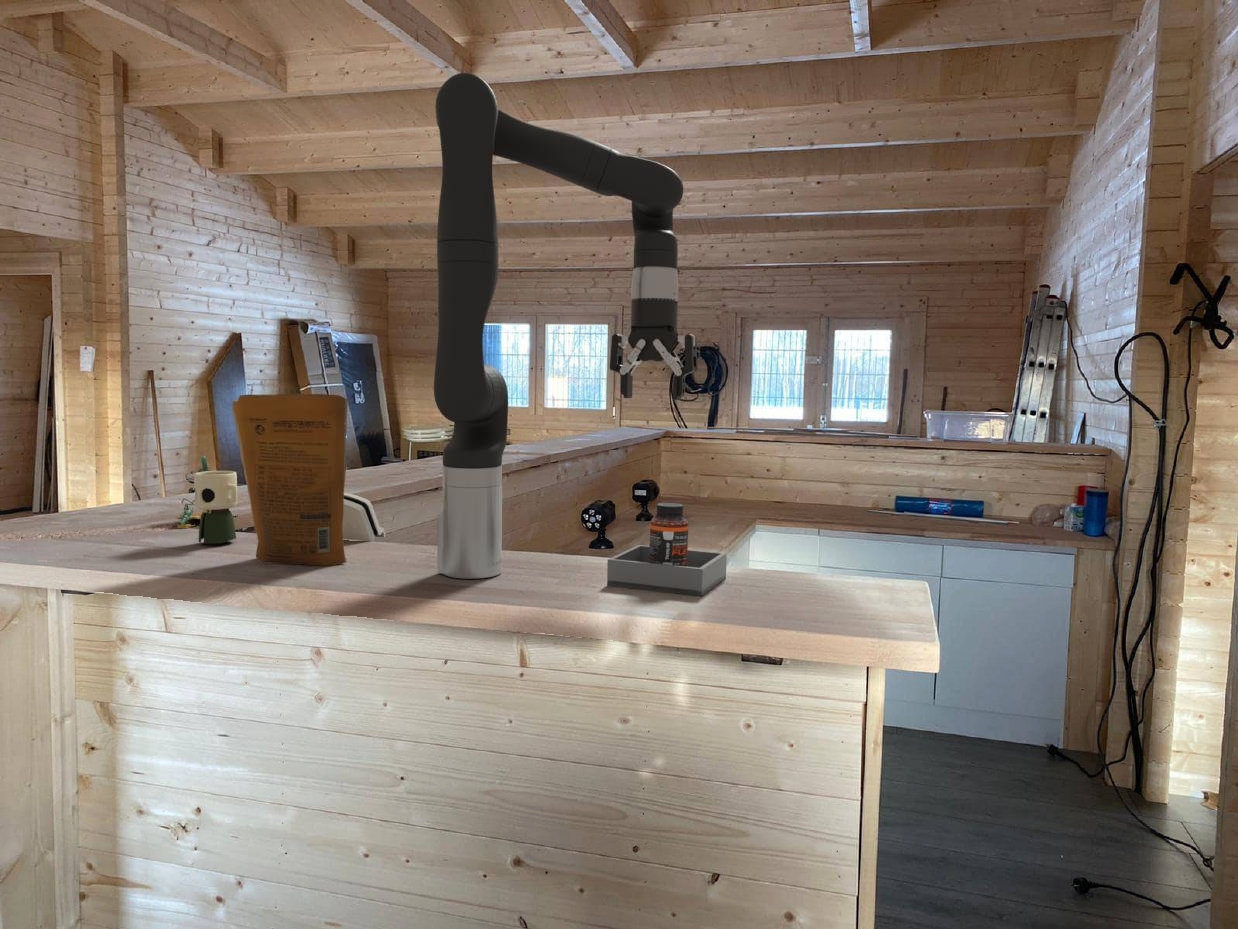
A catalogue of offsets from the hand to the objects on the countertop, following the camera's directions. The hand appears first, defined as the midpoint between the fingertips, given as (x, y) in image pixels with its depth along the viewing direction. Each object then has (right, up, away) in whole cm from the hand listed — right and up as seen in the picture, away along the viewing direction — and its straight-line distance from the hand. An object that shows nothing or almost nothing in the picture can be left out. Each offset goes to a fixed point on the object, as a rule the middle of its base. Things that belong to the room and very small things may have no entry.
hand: (652, 399), depth 143 cm
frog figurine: (-92, -23, +41) cm, 103 cm away
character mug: (-79, -25, +18) cm, 85 cm away
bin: (+2, -29, -6) cm, 30 cm away
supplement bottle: (+2, -28, -6) cm, 29 cm away
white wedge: (-59, -25, +26) cm, 69 cm away
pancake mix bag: (-59, -27, +3) cm, 65 cm away
